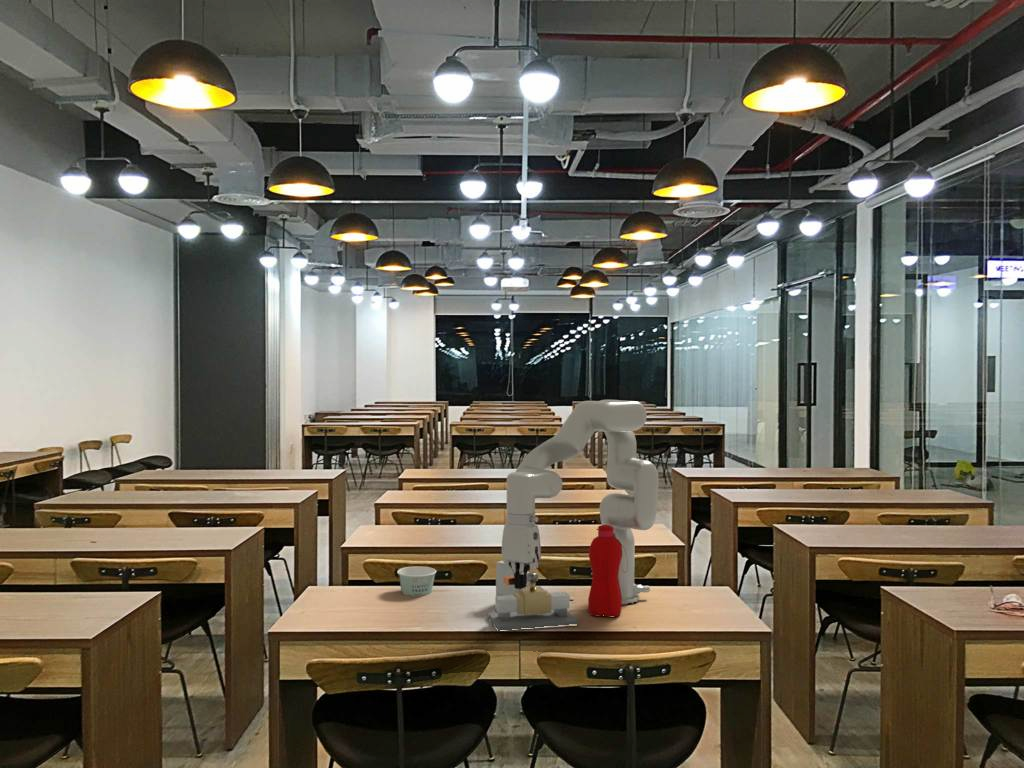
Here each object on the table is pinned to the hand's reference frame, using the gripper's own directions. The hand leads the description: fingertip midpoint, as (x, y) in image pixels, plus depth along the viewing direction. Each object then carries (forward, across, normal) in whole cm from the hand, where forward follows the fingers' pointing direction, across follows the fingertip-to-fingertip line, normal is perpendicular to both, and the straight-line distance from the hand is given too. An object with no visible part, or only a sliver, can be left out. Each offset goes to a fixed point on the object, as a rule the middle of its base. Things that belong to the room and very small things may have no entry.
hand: (520, 587), depth 232 cm
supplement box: (+12, +15, -18) cm, 26 cm away
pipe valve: (+10, +1, -7) cm, 12 cm away
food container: (+11, +46, -11) cm, 49 cm away
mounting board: (+11, +1, -7) cm, 13 cm away
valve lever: (0, +2, -4) cm, 4 cm away
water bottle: (+12, -12, -26) cm, 31 cm away
